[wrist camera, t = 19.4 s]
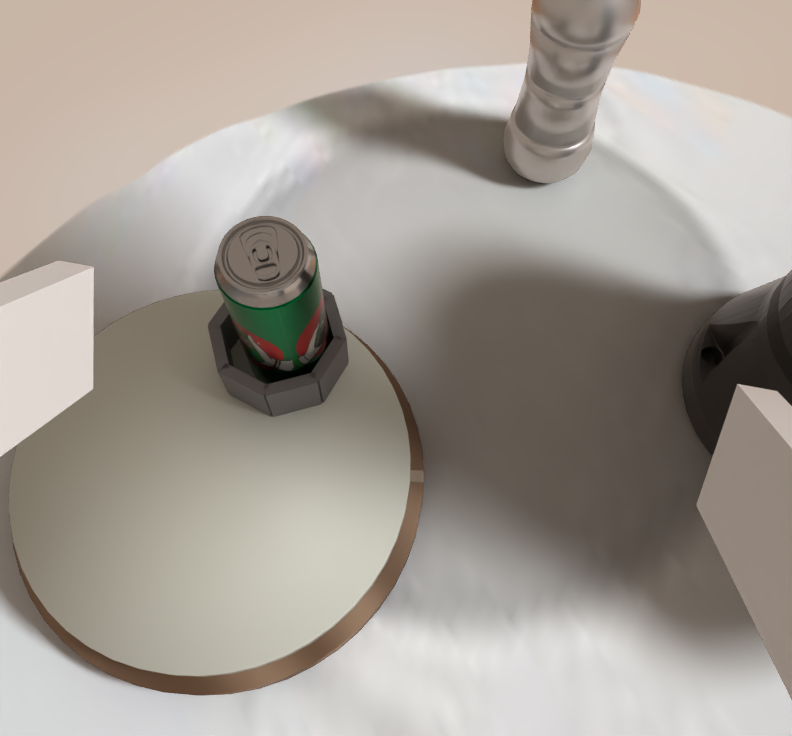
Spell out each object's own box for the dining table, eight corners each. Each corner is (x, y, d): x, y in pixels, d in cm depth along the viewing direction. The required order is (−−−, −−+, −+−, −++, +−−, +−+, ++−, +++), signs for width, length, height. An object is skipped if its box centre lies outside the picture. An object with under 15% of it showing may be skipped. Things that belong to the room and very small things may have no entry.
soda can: (321, 314, 48) (301, 198, 37) (341, 384, 46) (327, 283, 35) (243, 334, 47) (200, 222, 36) (260, 406, 45) (220, 310, 34)
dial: (279, 762, 39) (265, 769, 34) (-61, 547, 43) (-116, 527, 39) (483, 384, 48) (494, 348, 44) (185, 237, 53) (166, 189, 48)
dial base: (315, 256, 55) (312, 238, 53) (496, 560, 46) (501, 553, 44) (-25, 408, 50) (-43, 395, 47) (106, 785, 41) (91, 789, 39)
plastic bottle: (596, 183, 58) (695, -57, 40) (515, 203, 57) (578, -33, 39) (564, 121, 61) (644, -131, 42) (486, 139, 60) (533, -110, 41)
